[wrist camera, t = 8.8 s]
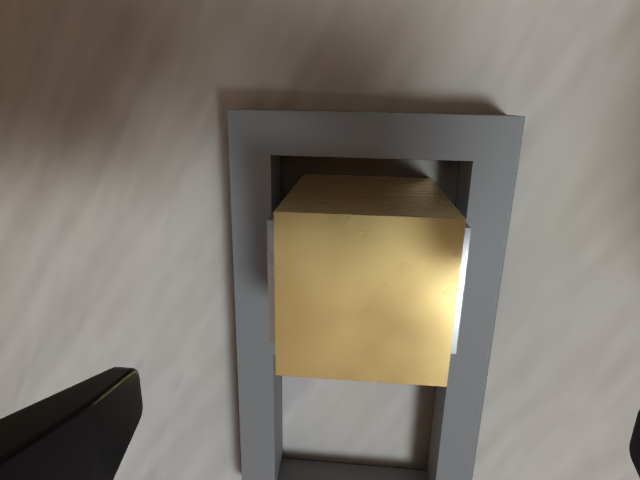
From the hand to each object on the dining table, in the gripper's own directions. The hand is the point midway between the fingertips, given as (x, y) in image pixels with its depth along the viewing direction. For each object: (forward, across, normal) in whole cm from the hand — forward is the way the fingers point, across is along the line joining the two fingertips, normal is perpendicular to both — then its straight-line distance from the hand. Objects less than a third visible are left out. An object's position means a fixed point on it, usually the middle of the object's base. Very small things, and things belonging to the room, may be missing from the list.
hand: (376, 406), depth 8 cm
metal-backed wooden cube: (+11, 0, 0) cm, 11 cm away
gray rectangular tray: (+11, 0, +4) cm, 12 cm away
